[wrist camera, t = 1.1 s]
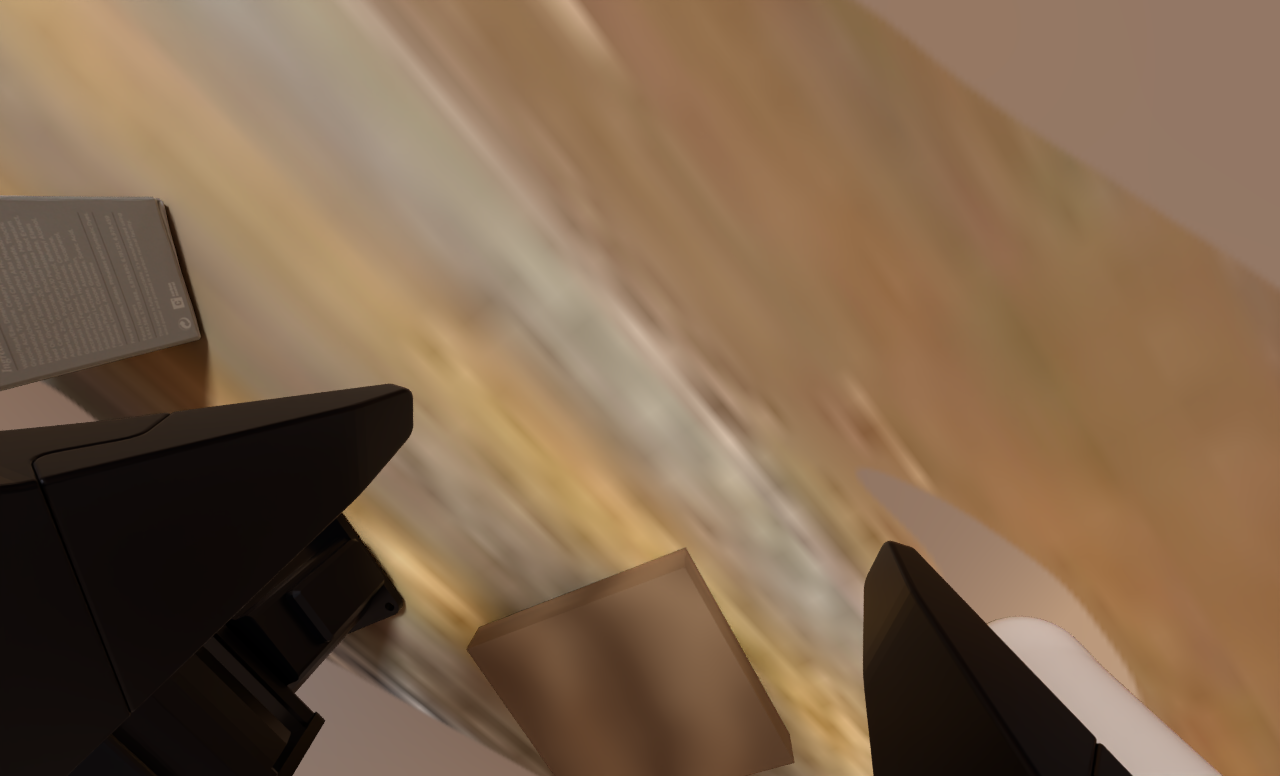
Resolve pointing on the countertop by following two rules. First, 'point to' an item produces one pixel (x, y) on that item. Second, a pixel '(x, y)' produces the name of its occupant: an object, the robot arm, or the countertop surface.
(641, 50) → the countertop surface
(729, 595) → the countertop surface
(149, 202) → the skincare box
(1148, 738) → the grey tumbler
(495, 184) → the countertop surface
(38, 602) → the robot arm
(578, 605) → the square walnut board
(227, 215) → the countertop surface
